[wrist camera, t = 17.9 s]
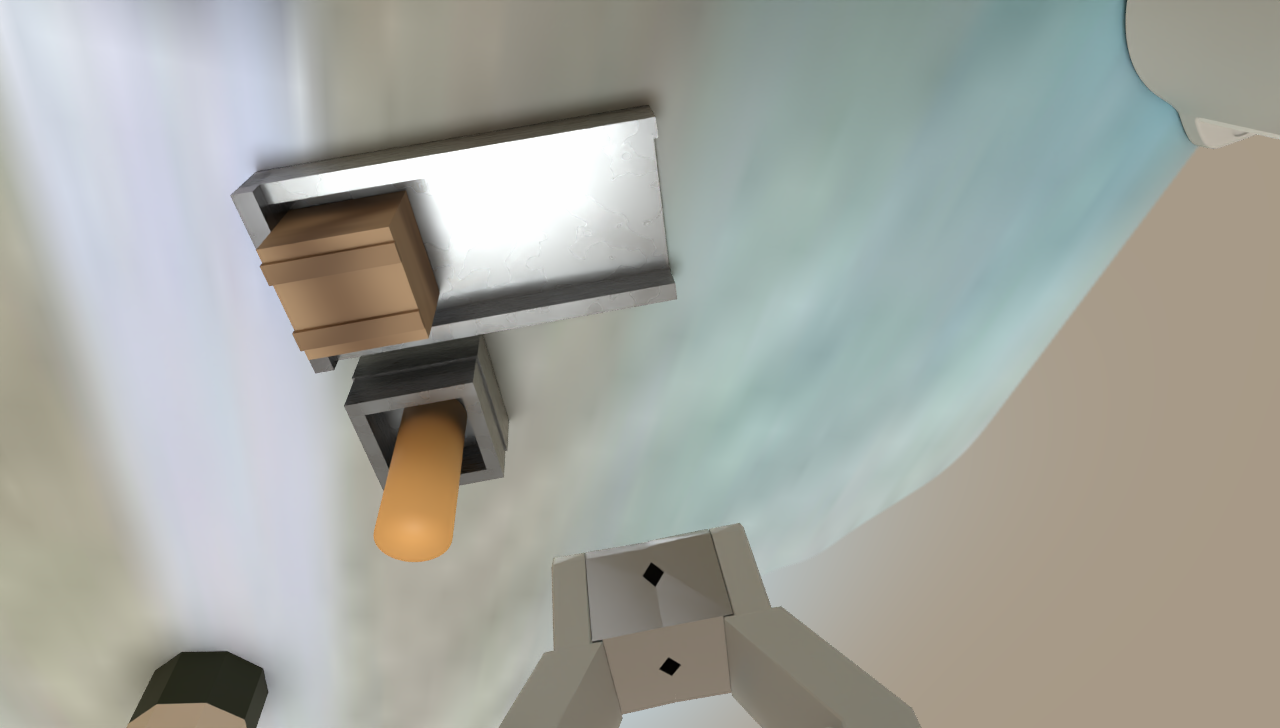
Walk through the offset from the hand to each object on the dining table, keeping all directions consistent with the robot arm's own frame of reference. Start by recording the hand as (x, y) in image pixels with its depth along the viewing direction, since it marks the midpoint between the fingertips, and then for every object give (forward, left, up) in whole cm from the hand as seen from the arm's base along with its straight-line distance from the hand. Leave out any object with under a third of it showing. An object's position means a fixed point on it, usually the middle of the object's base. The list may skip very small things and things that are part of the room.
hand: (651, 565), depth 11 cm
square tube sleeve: (+11, +14, -29) cm, 34 cm away
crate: (+12, +5, -28) cm, 31 cm away
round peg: (+11, +14, -26) cm, 32 cm away
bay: (+6, +5, -29) cm, 30 cm away
